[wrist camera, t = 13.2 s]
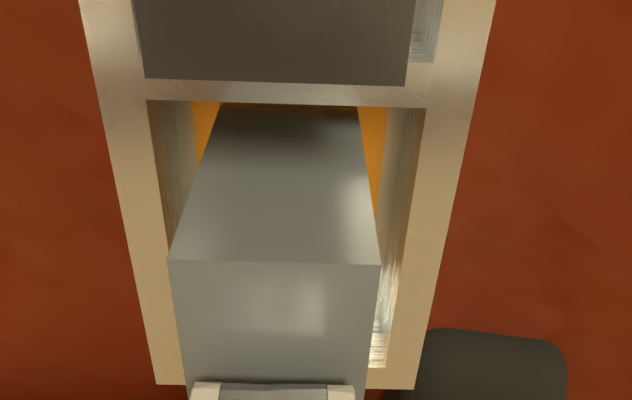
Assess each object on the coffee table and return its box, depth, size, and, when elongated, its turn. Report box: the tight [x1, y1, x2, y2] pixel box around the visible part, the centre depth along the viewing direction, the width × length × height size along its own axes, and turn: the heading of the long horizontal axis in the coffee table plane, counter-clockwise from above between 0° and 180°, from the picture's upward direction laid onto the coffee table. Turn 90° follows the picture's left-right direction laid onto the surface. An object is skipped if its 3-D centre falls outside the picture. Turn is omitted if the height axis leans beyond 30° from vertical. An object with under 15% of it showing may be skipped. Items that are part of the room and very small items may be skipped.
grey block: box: [166, 106, 381, 400], centre depth 13 cm, size 6×4×6 cm, turn 178°
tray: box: [78, 0, 496, 390], centre depth 11 cm, size 20×8×7 cm, turn 178°
